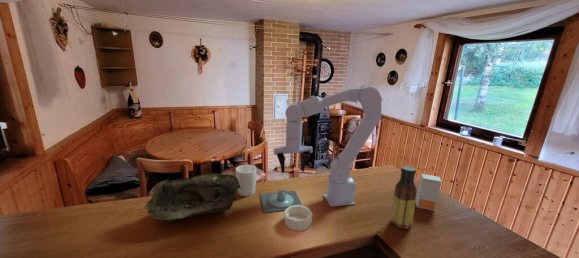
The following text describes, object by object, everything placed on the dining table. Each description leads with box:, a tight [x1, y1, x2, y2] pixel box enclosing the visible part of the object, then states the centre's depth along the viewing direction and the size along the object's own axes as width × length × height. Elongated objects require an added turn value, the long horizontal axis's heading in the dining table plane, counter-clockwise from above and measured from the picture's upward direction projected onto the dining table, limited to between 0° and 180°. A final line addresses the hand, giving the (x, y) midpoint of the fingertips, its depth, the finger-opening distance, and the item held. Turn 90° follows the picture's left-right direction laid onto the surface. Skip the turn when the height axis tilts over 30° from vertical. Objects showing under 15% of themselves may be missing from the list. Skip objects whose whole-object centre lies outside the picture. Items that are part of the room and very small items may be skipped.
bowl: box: [283, 204, 313, 232], centre depth 76 cm, size 8×8×4 cm
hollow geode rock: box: [144, 172, 241, 225], centre depth 79 cm, size 28×13×15 cm
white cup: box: [235, 164, 257, 197], centre depth 93 cm, size 8×8×10 cm
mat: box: [259, 190, 303, 214], centre depth 88 cm, size 14×12×1 cm
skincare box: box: [415, 173, 442, 212], centre depth 87 cm, size 6×4×12 cm
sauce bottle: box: [391, 165, 418, 230], centre depth 75 cm, size 7×6×20 cm
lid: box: [269, 189, 294, 208], centre depth 87 cm, size 9×9×4 cm
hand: (292, 171), depth 90 cm, fingers open, 7 cm apart
